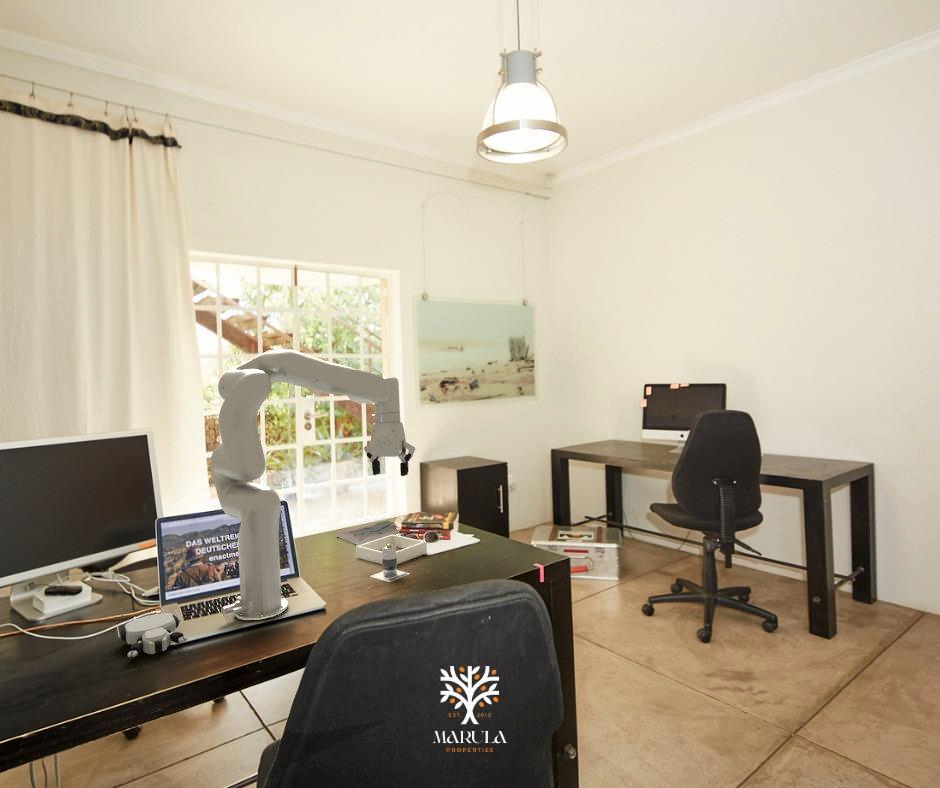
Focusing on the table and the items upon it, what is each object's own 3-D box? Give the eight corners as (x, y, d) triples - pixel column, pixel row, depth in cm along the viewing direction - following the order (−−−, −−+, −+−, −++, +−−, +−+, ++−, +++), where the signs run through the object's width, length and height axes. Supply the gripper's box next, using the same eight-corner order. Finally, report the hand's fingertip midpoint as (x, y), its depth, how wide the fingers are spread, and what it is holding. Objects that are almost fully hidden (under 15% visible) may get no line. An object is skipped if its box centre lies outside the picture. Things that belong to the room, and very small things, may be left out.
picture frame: (387, 526, 223) (336, 538, 208) (386, 520, 223) (336, 531, 208) (412, 534, 210) (359, 548, 196) (411, 528, 210) (359, 540, 196)
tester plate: (389, 585, 158) (389, 581, 158) (370, 579, 163) (369, 576, 163) (410, 576, 164) (410, 573, 164) (390, 571, 169) (390, 567, 169)
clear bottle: (389, 578, 161) (388, 547, 160) (379, 575, 163) (378, 544, 163) (400, 574, 164) (399, 543, 164) (390, 571, 167) (389, 541, 166)
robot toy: (191, 651, 125) (176, 624, 137) (190, 631, 125) (175, 606, 137) (126, 671, 118) (116, 640, 130) (125, 650, 117) (115, 621, 129)
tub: (390, 569, 171) (390, 554, 171) (356, 560, 181) (355, 546, 181) (426, 555, 183) (426, 541, 183) (392, 547, 193) (392, 534, 193)
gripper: (356, 419, 173) (359, 476, 174) (406, 419, 166) (409, 478, 167) (370, 417, 180) (372, 471, 181) (419, 416, 173) (421, 473, 174)
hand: (390, 474), depth 174 cm, fingers open, 9 cm apart
